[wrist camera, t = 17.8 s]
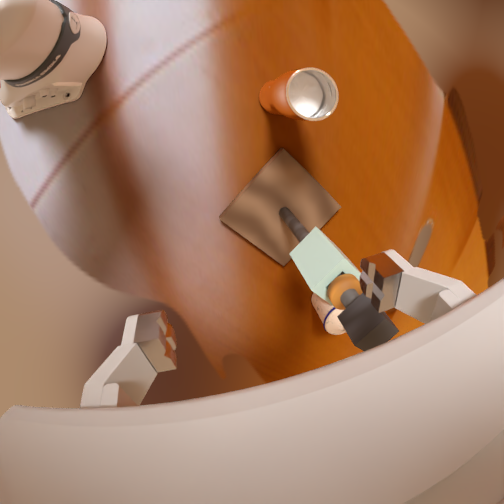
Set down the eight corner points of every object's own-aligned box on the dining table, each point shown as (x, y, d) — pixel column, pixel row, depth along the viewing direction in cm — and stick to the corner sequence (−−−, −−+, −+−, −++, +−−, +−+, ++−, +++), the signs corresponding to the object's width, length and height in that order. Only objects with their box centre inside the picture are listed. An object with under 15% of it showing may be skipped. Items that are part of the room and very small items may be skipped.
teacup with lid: (350, 293, 64) (373, 325, 54) (320, 315, 66) (339, 349, 56) (330, 262, 58) (355, 295, 48) (296, 287, 60) (315, 324, 50)
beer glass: (303, 88, 40) (348, 84, 27) (287, 123, 42) (326, 132, 29) (266, 70, 37) (298, 55, 24) (249, 107, 40) (274, 106, 27)
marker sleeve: (312, 272, 39) (335, 308, 32) (289, 253, 36) (311, 290, 29) (337, 246, 37) (366, 279, 30) (315, 226, 35) (344, 257, 28)
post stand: (281, 262, 56) (352, 399, 28) (219, 216, 48) (256, 368, 21) (337, 204, 51) (454, 308, 24) (281, 147, 44) (410, 224, 17)
